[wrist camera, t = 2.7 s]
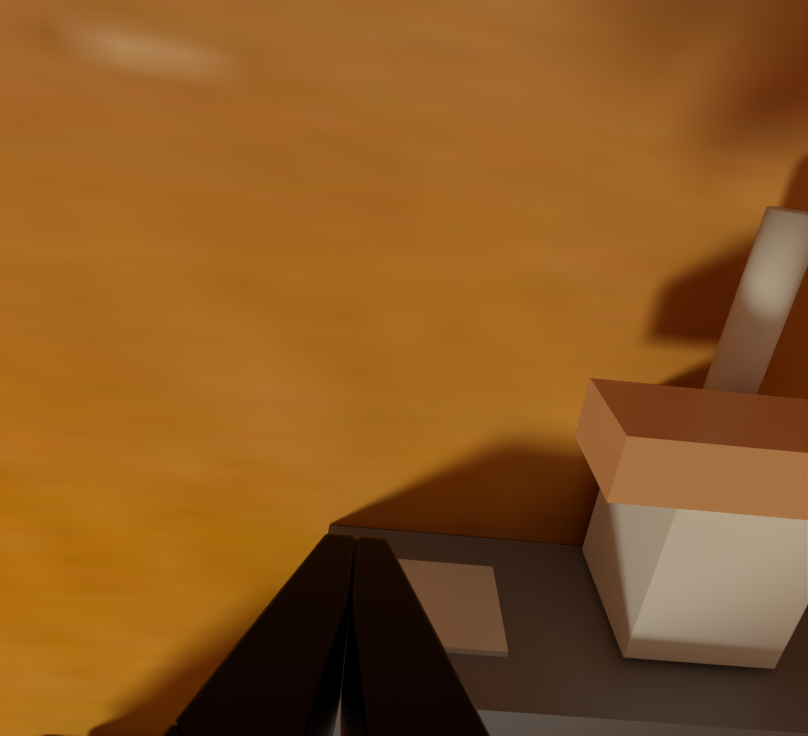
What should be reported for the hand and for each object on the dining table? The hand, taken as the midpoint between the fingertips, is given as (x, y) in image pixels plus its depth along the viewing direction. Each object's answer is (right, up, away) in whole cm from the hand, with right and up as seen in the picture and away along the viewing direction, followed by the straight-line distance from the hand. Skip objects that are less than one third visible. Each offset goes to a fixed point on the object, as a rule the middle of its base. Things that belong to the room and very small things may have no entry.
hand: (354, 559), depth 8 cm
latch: (+9, +1, +6) cm, 11 cm away
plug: (+9, +2, +9) cm, 12 cm away
